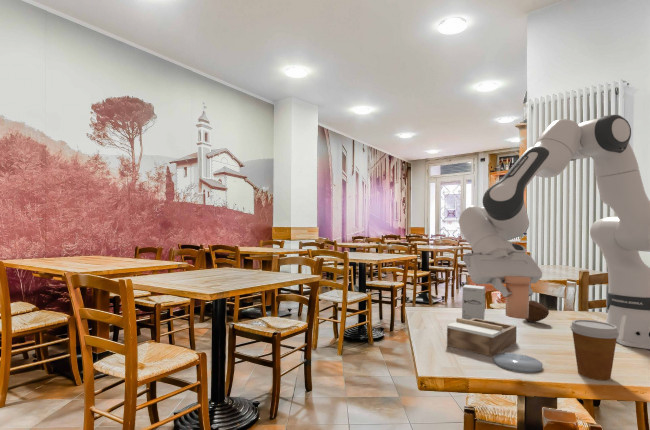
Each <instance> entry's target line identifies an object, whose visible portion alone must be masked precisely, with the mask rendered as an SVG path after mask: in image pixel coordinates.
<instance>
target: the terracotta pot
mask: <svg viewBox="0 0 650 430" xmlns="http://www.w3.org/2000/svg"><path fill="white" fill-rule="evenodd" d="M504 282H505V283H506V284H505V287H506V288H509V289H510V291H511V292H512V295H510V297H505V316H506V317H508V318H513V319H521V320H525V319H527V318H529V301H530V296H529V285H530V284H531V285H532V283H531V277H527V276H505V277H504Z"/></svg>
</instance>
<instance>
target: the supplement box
mask: <svg viewBox="0 0 650 430" xmlns="http://www.w3.org/2000/svg"><path fill="white" fill-rule="evenodd" d="M461 297H462V301H461V302H462V305H461V310H462V312H461V319H466V320H470V319H472V318H476V319H482V320H485V311H486V309H485V308H486V306H485V305H486V286H483V285H474V284H473V285H471V284H464V285H463V286H462V296H461Z"/></svg>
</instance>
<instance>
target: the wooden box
mask: <svg viewBox="0 0 650 430" xmlns="http://www.w3.org/2000/svg"><path fill="white" fill-rule="evenodd" d="M470 320H471V321H477V322H482V323H487V324H492V325H497V326H502V333H501V334H499V335H497V336H495V337H493V338H492V337H487V336H482V335H478V334H473V333H469V332H464V331H460V330H455V329H450V328H447V327H446V328H447V329H446V333H447V334H446V346H449V347H453V348H456V349H457V348H458V349H462V350H465V351H469V352H473V353H476V354H481V355H485V356H489V357H493V358H494V355H496V354H499V353H503V351H505V350H506V349H508V348H510V347H512V346H513V345H514V344H517V326H516V325H514V324H513V325H512V324H507V323H504V322H503V323H502V322H497V321H491V320H486V319H484V320H482V319H476V318H472V319H470Z"/></svg>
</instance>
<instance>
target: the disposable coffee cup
mask: <svg viewBox="0 0 650 430" xmlns="http://www.w3.org/2000/svg"><path fill="white" fill-rule="evenodd" d="M569 328H570V330H571V333H572V338H573V344H574V345H573V347H574V353H575V359H576V368H577V373H578V375H580V376H582V377H584V378H587V379H591V380H596V381H609V380H611V377H612V370H613V365H614V358H615V351H616V346H617V342H616V339H617V337H618V335H619V332H618V330H617V327H616V326H614V325H612V324H609V323H606V321H605V322H603V321H598V320H590V319H574V320H572V322H571V324H570V326H569Z"/></svg>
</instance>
